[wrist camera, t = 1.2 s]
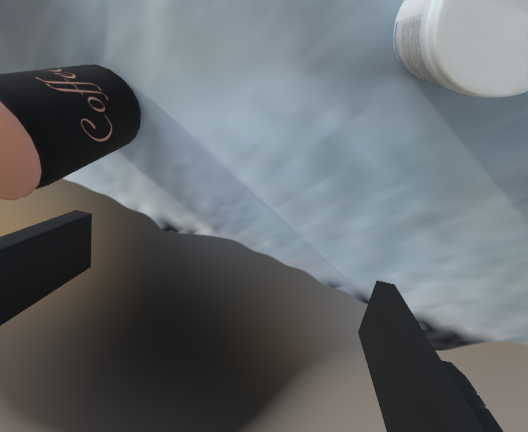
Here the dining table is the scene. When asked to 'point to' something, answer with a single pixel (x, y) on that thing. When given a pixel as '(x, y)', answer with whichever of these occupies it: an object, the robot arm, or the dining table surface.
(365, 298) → the dining table surface
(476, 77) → the supplement tub
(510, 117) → the dining table surface
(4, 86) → the coffee jar
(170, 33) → the dining table surface
